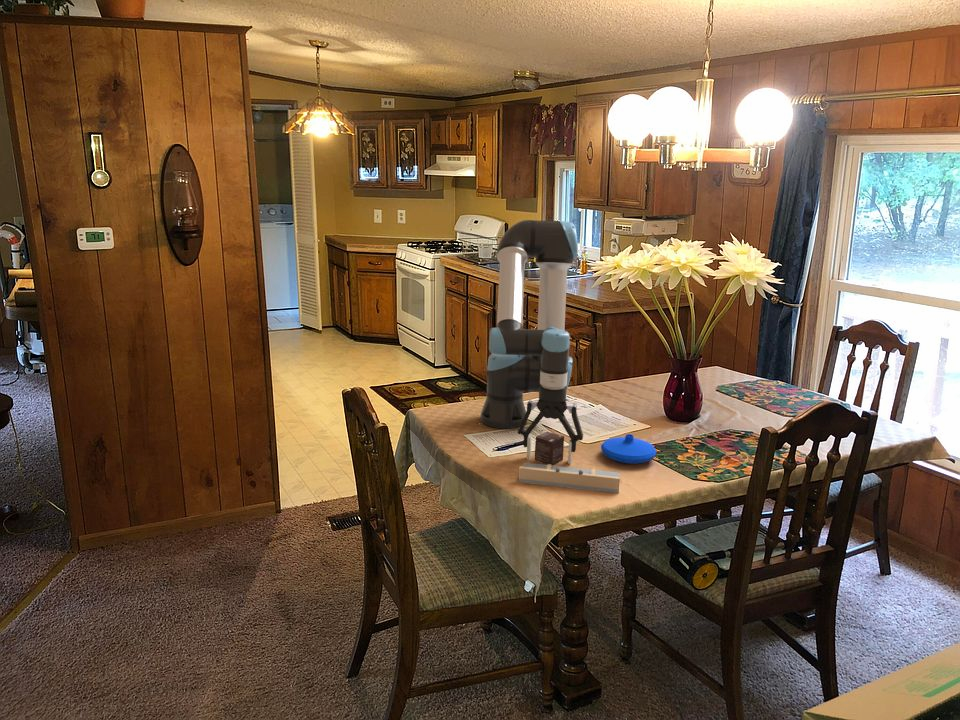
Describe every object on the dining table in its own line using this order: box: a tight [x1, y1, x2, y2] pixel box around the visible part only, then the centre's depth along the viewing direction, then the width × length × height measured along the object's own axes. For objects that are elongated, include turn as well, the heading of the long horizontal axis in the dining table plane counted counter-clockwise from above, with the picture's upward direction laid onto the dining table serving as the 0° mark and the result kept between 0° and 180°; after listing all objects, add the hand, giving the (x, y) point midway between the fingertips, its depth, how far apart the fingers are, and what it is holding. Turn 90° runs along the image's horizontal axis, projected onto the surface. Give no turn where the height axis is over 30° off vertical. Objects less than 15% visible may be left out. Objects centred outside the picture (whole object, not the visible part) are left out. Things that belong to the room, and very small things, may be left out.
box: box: [534, 430, 565, 466], centre depth 212 cm, size 6×6×7 cm
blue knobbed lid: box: [600, 433, 657, 465], centre depth 216 cm, size 16×16×7 cm
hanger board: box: [518, 462, 621, 494], centre depth 200 cm, size 11×26×5 cm, turn 78°
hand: (548, 459), depth 213 cm, fingers open, 11 cm apart
